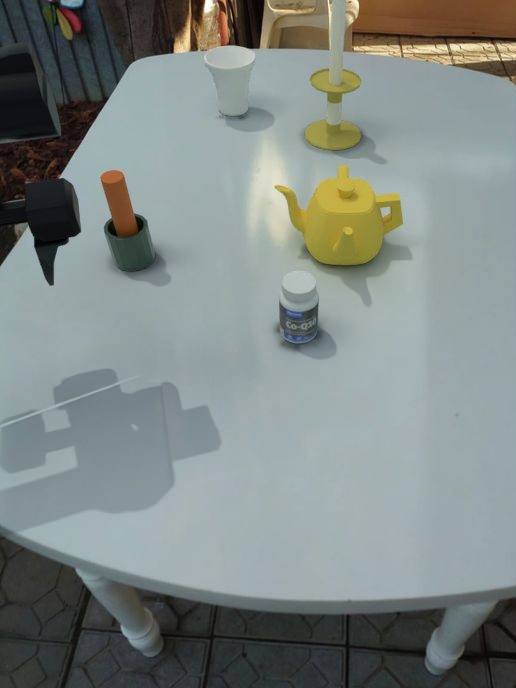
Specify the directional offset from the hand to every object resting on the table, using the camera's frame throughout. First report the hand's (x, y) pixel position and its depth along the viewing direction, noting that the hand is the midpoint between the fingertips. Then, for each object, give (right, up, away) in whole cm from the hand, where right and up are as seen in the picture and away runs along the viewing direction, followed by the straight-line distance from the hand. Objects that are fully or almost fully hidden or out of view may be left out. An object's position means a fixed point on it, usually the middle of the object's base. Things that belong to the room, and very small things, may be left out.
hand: (3, 291), depth 58 cm
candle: (+34, +32, +46) cm, 65 cm away
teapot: (+34, +9, +26) cm, 44 cm away
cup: (+15, +38, +50) cm, 65 cm away
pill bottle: (+29, -4, +15) cm, 33 cm away
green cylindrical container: (+6, +7, +23) cm, 25 cm away
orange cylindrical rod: (+6, +7, +23) cm, 25 cm away
